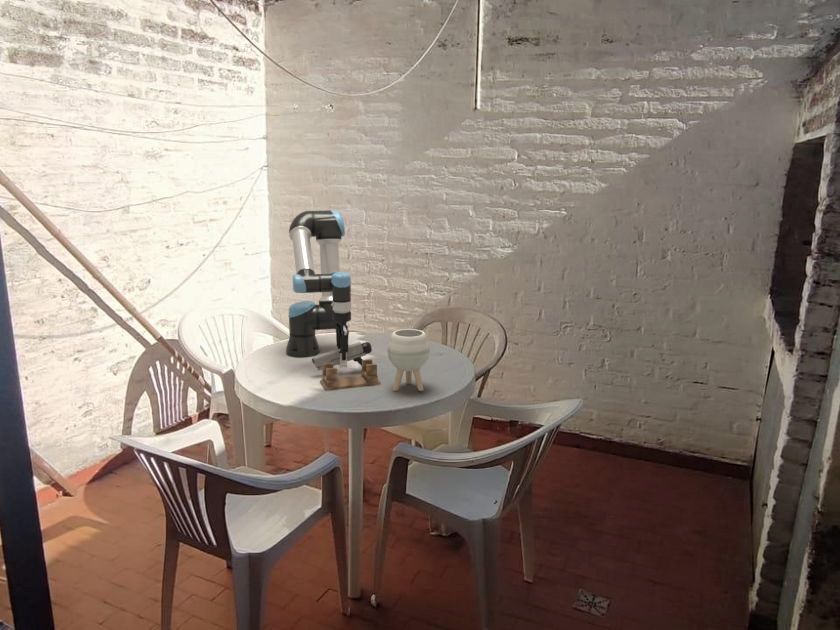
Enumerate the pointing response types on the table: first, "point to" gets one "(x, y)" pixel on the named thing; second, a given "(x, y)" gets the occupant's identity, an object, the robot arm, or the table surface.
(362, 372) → the display stand
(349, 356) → the gun
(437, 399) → the table surface
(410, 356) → the planter
